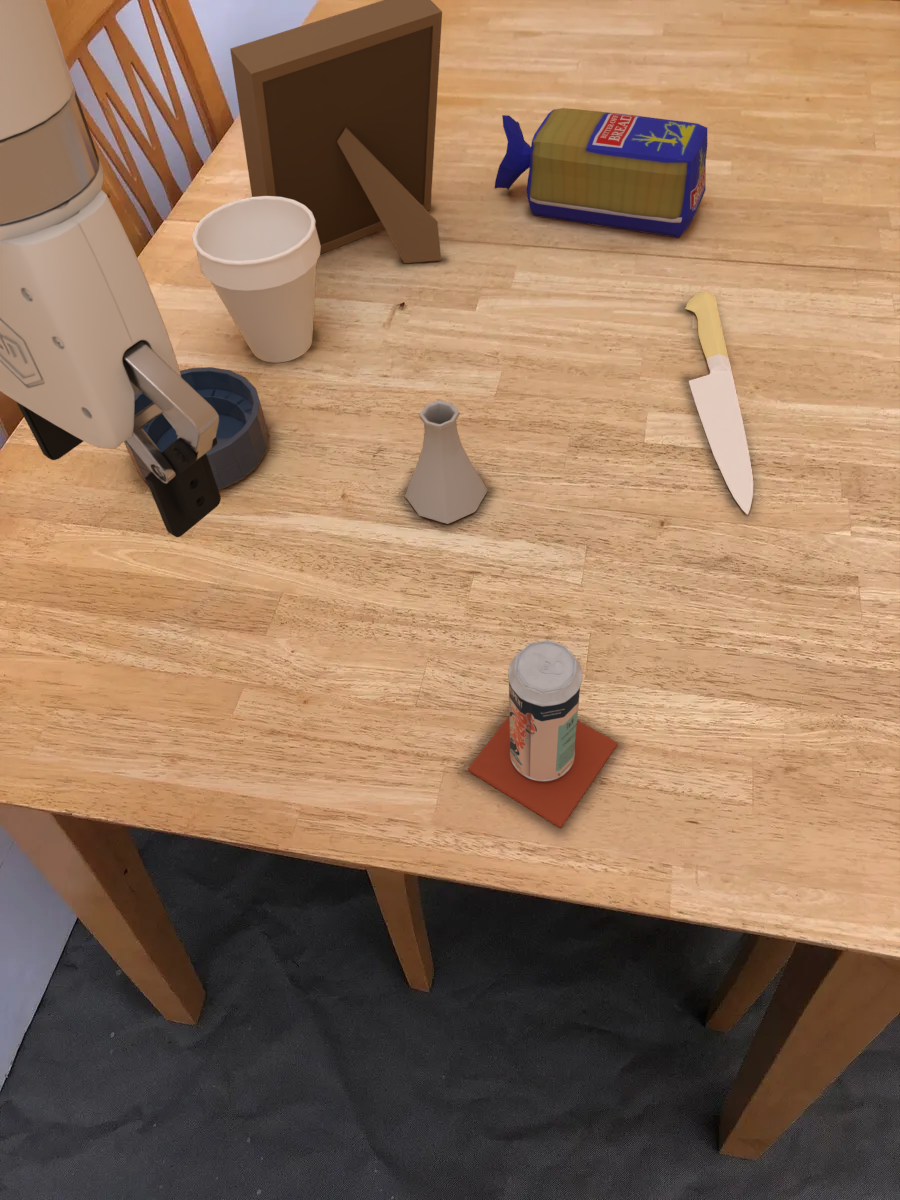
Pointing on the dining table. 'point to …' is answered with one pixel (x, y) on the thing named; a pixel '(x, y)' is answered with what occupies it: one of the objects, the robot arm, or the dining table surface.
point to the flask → (444, 469)
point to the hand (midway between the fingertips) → (131, 479)
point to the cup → (263, 271)
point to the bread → (610, 169)
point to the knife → (721, 403)
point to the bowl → (237, 429)
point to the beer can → (543, 709)
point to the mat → (544, 796)
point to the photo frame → (348, 122)
